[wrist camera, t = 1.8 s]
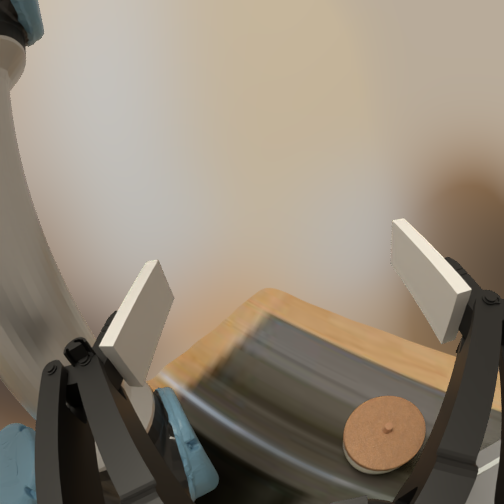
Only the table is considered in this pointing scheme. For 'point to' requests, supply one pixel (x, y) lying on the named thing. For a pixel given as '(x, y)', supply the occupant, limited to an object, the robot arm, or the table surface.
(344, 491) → the table surface
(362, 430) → the lidded jar
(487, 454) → the slate slab
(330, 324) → the table surface
